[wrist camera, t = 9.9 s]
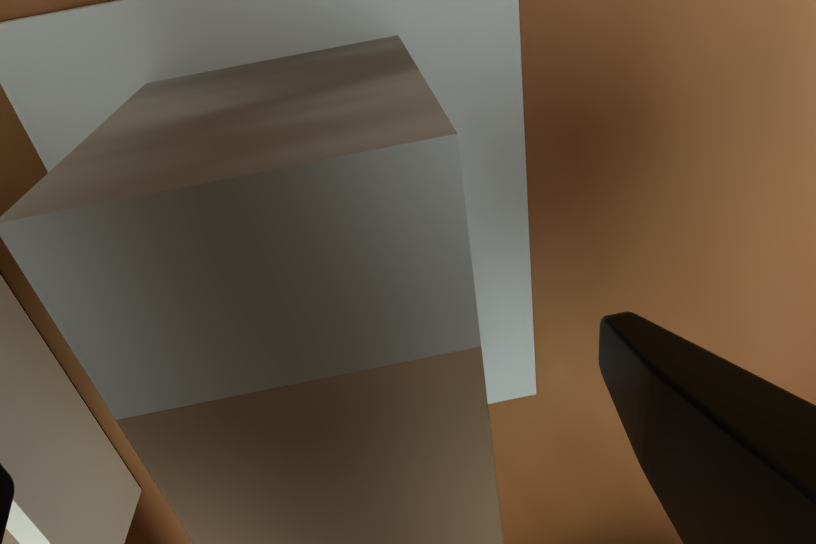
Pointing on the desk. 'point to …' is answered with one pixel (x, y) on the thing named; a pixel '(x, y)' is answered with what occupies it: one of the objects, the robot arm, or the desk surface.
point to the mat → (295, 34)
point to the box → (279, 299)
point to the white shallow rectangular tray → (54, 447)
